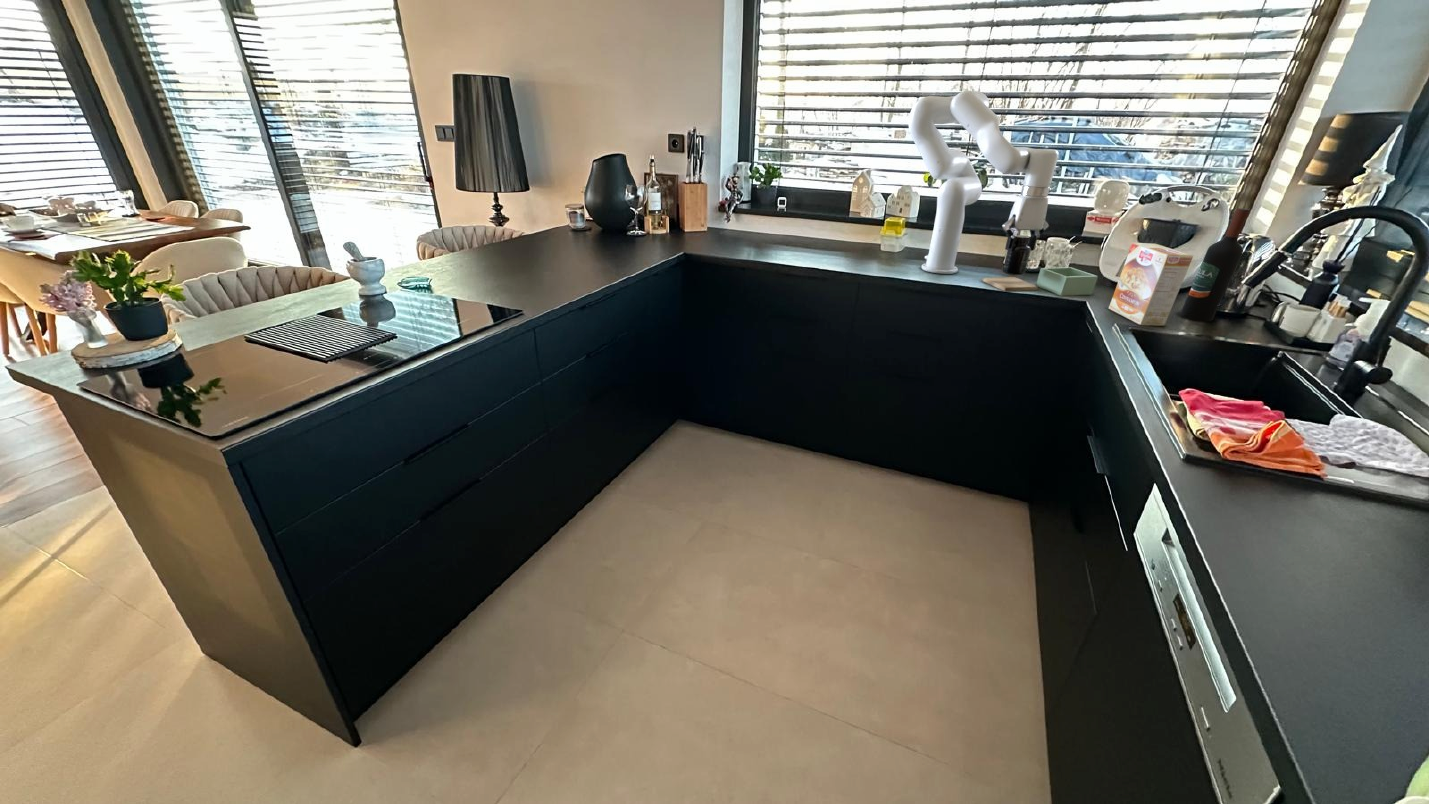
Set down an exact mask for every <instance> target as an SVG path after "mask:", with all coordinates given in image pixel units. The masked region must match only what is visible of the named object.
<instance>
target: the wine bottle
mask: <svg viewBox="0 0 1429 804" xmlns="http://www.w3.org/2000/svg"><path fill="white" fill-rule="evenodd" d="M1250 212H1251V209H1250V208H1242V207H1241V208H1238V207H1237V208H1236V210H1235V212H1234V213H1233V217H1232V219H1231V221H1230V224H1229V226H1228V228H1227V230H1226V233H1225V235H1224V237H1223V238H1222V239H1221V240H1218V241H1215V242H1214V243H1212V244H1211V245H1209V247H1208V248H1207V250H1206V252H1205V254H1204V257H1203V259H1202V261H1201V264H1200V266H1199V269H1198V271H1197V273H1196V275H1195V278H1194V280H1193V283H1192V285H1191V288H1190V290H1189V292H1188V294H1187V297H1186V299H1185V301H1184V304H1183V306H1182V309H1181V311H1180V313H1179V316H1180V317H1182V318H1184V319H1187V320H1192V321H1196V322H1205V323H1206V322H1212V321H1213V320H1214V318H1215V315H1216V313H1217V311H1218V309H1219V307H1220V304H1221V303H1222V299H1223V298H1224V296H1225V294H1226V291H1227V289H1228V287H1229V285H1230V283H1231V281H1232V278H1233V276H1234V274H1235V272H1236V269H1237V267H1238V265H1239V263H1240V260H1241V259H1242V256H1243V255H1244V254H1243V253H1244V249H1243V246H1242V245H1241V244H1240V243H1239V242H1238V240H1239V236H1240V235H1241V232H1242V229H1243V227H1244V225H1245V222H1246V220H1247V218H1248V216H1249V215H1250Z"/></svg>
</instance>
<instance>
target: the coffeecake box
mask: <svg viewBox="0 0 1429 804" xmlns="http://www.w3.org/2000/svg"><path fill="white" fill-rule="evenodd" d="M1193 258H1194V255H1192V254H1189V253H1187V252H1182V251H1180V250H1177V249H1174V248H1170V247H1167V246H1164V245H1161V244H1158V243H1150V242H1149V243H1145V242H1132V243H1131V246H1130V249H1129V250H1128V253H1127V257H1126V260H1125V262H1124V265H1123V267H1122V270H1121V273H1120V275H1119V278H1118V281H1117V284H1116V286H1115V290H1114V293H1113V295H1112V298H1111V301H1110V304H1109V306H1108V309H1109V310H1110V311H1112V312H1114V313H1116V314H1118V315H1120V316H1122V317H1124V318H1126V319H1127V320H1130V321H1131V322H1133V323H1135V324H1137V325H1139V326H1157V327H1159V326H1161V327H1165V325H1166V322H1167V320H1168V318H1169V315H1170V313H1171V311H1172V308H1173V307H1174V304H1175V301H1176V298H1177V296H1178V294H1179V292H1180V289H1181V287H1182V284H1183V283H1184V280H1185V277H1186V275H1187V273H1188V270H1189V267H1190V265H1191V263H1192V260H1193Z"/></svg>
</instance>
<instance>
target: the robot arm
mask: <svg viewBox="0 0 1429 804" xmlns="http://www.w3.org/2000/svg"><path fill="white" fill-rule="evenodd" d="M989 106H990V101H989V98H988V96H987V95H986V94H985V93H983V92H982V91H977V90H963V91H961V92H959V93H956V95H951V96H940V95H939V96H937V95H928V96H924V97H921V98H919V99H918V100H917V101H916V102H915V103H914V105H913V106H912V108H911V110H910V113H909V117H908V131H909V135H910V137H911V139H912V141H913V142H914V144H915V147H916V148H917V150H918V152H919V154H920V156H921V159H922V160H923V163H924V165H925V166H926V168H927V171H928V173H929V175H930V177H932V178H933V179H934V180H938V181H939V180H940V181H941V180H945V181H944V182H943V183H942V184H941V186H939V189H938V191H937V197H936V213H935V218H934V223H933V225H934V226H933V230H932V235H931V239H930V245H929V250H928V254H927V255H925V256H924V259H925V260H926V262H924V263H922V264H921V266H920V268H921V269H922V270H923V271H925V272H928V273H933V274H938V275H939V274H940V275H954V274H956V273H958V271H959V268H958V267H957V266H955V264H956V261H957V260H956V259H957V255H958V250H959V245H960V242H961V237H962V233H963V227H964V222H965V212H966V211H965V210H966V209H965V207H966V206H970V205H973V204H974V203H976V202H977V201H978V200H979V199H980V197H981V196H982V192H983V185H982V182H981V180H980V178H979V176H978V174H977V171H976V170H975V168H974V166H973V164H972V162H971V161H970V158H969V156H967V154H966V153H965V152H963V151H962V150H960V149H951V148H950V147H949V146H948V143H947V142H946V141H945V138H944V136H943V134H942V132H941V131H940V130H938V128H937V127H936V125H947V124H948V125H949V124H956V123H959V124H960V125H961V126H962V128H964V129H965V130H966V131H967V132H968V133H969V134H970V136H971V137H972V138H973V139H974V140H975V141H976V143H977V146H978V149H979V150H980V152H981V154H982V156H983V157H984V158H985V159H986V161H988V163H989V164H991V165H992V167H993V168H994V169H995V170H997V171H998V172H1000V173H1002V174H1020V173H1021V174H1022V173H1025V175H1024V180H1023V183H1022V188H1021V190H1020V195H1018V196H1017V197H1016V199H1015V201H1014V203H1013V206H1012V207H1011V210H1010V214H1009V217H1008V220H1007V221H1005V222H1004V223H1003V224H1002V226H1001V227H1002V229H1003V231H1004V233H1005V235H1006V237H1007V239H1006V243H1005V248H1004V249H1005V250H1006V251H1007V250H1008V251H1013V249H1014V246H1015V242H1016V239H1015V237H1016V235H1019V232H1020V231H1029V234H1030V235H1028V236H1029V237H1031V238H1030V243H1028V245H1029V246H1030V247H1031V252H1033V251H1034V250H1035V246H1036V243H1037V240H1038V239H1039V238H1040V236H1041V235H1042V234H1043V233H1044V232H1045V231H1046V230H1047V229H1048V228H1049V227H1050V225H1049V223H1048V222H1047V220H1046V218H1047V217H1046V216H1047V211H1048V204H1049V197H1048V195H1049V194H1050V193H1052V188H1051V185H1052V180H1053V178H1054V173H1055V170H1056V166H1057V163H1058V160H1059V155H1060V154H1059V151H1058V150H1057V149H1052V148H1032V147H1027V146H1014V145H1013V144H1012V143H1011V142H1010V141H1009V140H1008V139H1006V137H1005V136H1004V135H1003V134H1002V132H1001V129H1000V124H1001V119H1000V117H999V116H998V115H997V114H996V113H995V112H994V111H993V110H992V109H991V108H990V107H989Z"/></svg>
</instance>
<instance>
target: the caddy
mask: <svg viewBox="0 0 1429 804" xmlns="http://www.w3.org/2000/svg"><path fill="white" fill-rule="evenodd" d="M1098 279H1099V276H1098V275H1095V274H1092V273H1090V272H1086V271H1083V270H1081V269H1078V268H1074V267H1071V266H1070V267H1068V266H1066V267H1041V268H1040V270H1039V273H1038V276H1037V280H1036V283H1035V286H1038V288H1040V289H1043V290H1046V291H1048V292H1050V293H1053V294H1056V295H1057V296H1061V297H1065V296H1091V295H1093V292H1094V291H1095V290H1094V289H1095V287H1096V284H1097V281H1098Z"/></svg>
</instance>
